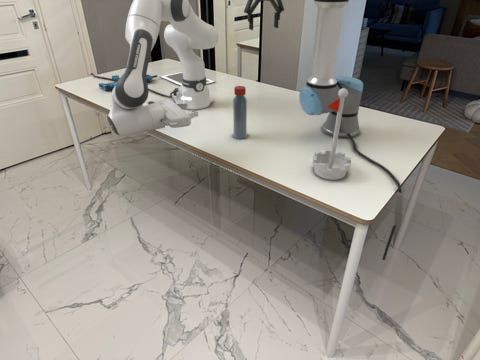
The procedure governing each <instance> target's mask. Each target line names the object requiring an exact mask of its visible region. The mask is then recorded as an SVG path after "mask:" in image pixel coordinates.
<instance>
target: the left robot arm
mask: <svg viewBox="0 0 480 360" xmlns="http://www.w3.org/2000/svg"><path fill="white" fill-rule="evenodd" d="M130 4H131V5H130V7H129V10H128V13H127V18H126V22H125V32H124V33H125V34H124V35H125V36H124V37H125V40H126V42H127V43H128V44H129V53H128V57H127V58H128V59H127V63H126V68H125V71H124V72H123V74H122V75H121V76H119V78H120V79H119V80H118V82H117V84H116V86H115V87H114V89H111V102H110V109H109V113H108V115H107V121H108V124H109V127H110V129H111V130H112V131H113V133H114V134H115V135H117V136H120V137H126V136H133V135H138V134H141V133H143V132H147V131H149V132H151V131H155V130H160V129H164V128H165V127H169V128H172V129H178V128H184V127H190V126H191V125H192V120H193V119H194V118H195V117H199V111H197V110H202V109H205V108H208V107H209V106H210V105H211V104H212V103H213V99H212V98H211V94H210V88H209V86H208V84H206V78H207V76H206V68H205V66H206V65H205V61H204V60H203V58H202V57H201V56H198V55H197V54H196V53H195V52H194V50H209V49H214V48H215V47H216V45H217V43H218V41H219V34H218V31H217V29H216V27H215V26H214V25H212V24H209V23H207V22H205V21H204V20H203V19H201V18H200V17H199V16H198V15H197V14H196V13H195V11H194V10H193V8H192V5H191V3H190V0H130ZM162 22H169V24H167V25H166V27H165V29H164V31H163V37H164V42H165V43H166V44H167V46H168V47H170V48H171V49H172V50H173V51H174V52H175V53H176V55H177V57H178V60H179V62H180V66H181V72H182V73H183V77H182V85H181V86H179V87H175V88H174V89H173V90H172V91H171V92H170V93H169V95H167V94H163V93H161V92H158V91H156V90H154V89H151V88H149V87H148V86H149V85H148V82H147V79H146V75H147V74H148V68H149V63H150V58H151V57H150V56H151V53H152V50H153V48H154V47H155V45H156V42H157V39H158V36H159V33H160V29H161V23H162ZM90 76H92V77H94V78H99V79H103V80H108V81H112V82H114V79H112V78H111V77H110V78H109V77H104V76H100V75H95V74H94V73H93V72H91V73H90ZM149 91H150V92H152V93H154V94H157V95H158V96H162V97H165V98H173V100H174V101H172V100H171V99H160V100H159V99H158V100H155V101H153V100H148V98H149ZM147 100H148V101H147ZM145 103H146V105H144V104H145ZM185 109H186V110H192V111H191V112H187V111H185Z"/></svg>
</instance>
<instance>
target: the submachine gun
mask: <svg viewBox="0 0 480 360" xmlns="http://www.w3.org/2000/svg"><path fill="white" fill-rule="evenodd" d="M155 78H158V74H155V75H150V74H148V73H147V74H146V79H147V83H149V82H151V81H152V80H153V79H155ZM111 79H114V81H112V82H108V83H104V82H99V83H98V87H99V88H100V89H102V90H104V91H111V90H113V89H114V87H115V86H116V84H117V82H118V80H119V79H120V76H119V75H118V74H117V75H112V76H111Z"/></svg>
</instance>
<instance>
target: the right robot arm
mask: <svg viewBox="0 0 480 360" xmlns="http://www.w3.org/2000/svg"><path fill="white" fill-rule="evenodd" d="M265 1H267V2H268V1H269V2H270V4H271V6H272V7H273V9H274V10H275V11H276V12H274V15H273V16H274V18H273V28H275V29H278V28H279V21H280V20H281V14H282V12H284V11H285V8H284V3H283V1H282V0H247V2H246V4H245V6H244V8H243V9H244V10H243V13H245V14H247V22H248V29H249V30H250V31H254V14H253V13H254V12H255V10H256V9H257V7H258V6H259V4H260V3H261V2H265ZM313 2H314V3H315V5H316V7H317V13H316V23H315V24H316V25H315V32H314V42H313V43H314V45H313V52H312V53H313V54H312V64H311V73H310V74H311V75H310V76H309V77H307V78H306V84H305V86H303V87H302V88H301V89H300V90H299V94H298V99H299V104H300V106H301V108H302V110H303V112H304V113H305V114H307V115H308V116H321V115H324V114H328V115H327V117H326V120H325V121H324V123H323V126H322V130H323V132H324V133H325V134H326V135H329V136H332V137H333V136H334V130H335V124H336V118H337V112H338V111H336V110H333V109H331V108H329V107H327V106H329V105H330V104H332V103H333V102H335V101H336V100H338V99H339V98H340V97H339V95H338V92H339V90H340V89H342V88H344V89H346V90H347V91H348V95H347V96H346V97H345V99H344V105H343V111H342V117H341V123H340V128H339V134H338V138H339V139H341V138H342V139H349V140H350V141H351V143H352V147H353V150H354V151H355V152H356V153H357V155H359V156H361V157H362V158H364V159H366V160H367V161H369V162H370V163H372V164H374V166H375V165H376V166H378V167H379V168H380V169H382V170H383V171H384V172H386V173H387V174H388V175H389V176H390V177H391V179H392V180H393V181H394V182H395V184H396V186H397V191H398V193H399V194H402V186H401V183H400V181H399V179H397V178H396V176H395V175H394V174H393V173H392V172H391V170H389V169H388V168H387V167H385V166H384V165H382V164H381V163H380V162H377V161H375V160H373V159H372V158H370V157H368V156H367V155H366V154H363V152H361V151H360V150H358V148H357V147H356V146H357V144H356V142H355V140H354V137H356V136H357V135H359V132H360V125H359V118H358V117H359V116H358V114H359V111H360V110H359V109H360V105H361V101H362V96H363V92H364V91H363V89H364V82H363V81H362V80H361V79H359V78H356V77H353V76H346V75H336V76H335V70H336V63H337V57H338V56H337V55H338V48H339V41H340V34H341V28H342V19H343V12H344V7H345V6H346V5H347V4H348V3H349V2H350V0H313ZM396 228H397V224H394V225H393V226H392V228H391V232H390V234H389V237H388V240H387V243H386V246H385V249H384V252H383V255H382V260H383V261H385V260H386V258H387V254H388V251H389V249H390V246H391V242H392V239H393V237H394V234H395V231H396Z"/></svg>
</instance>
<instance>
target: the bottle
mask: <svg viewBox="0 0 480 360" xmlns="http://www.w3.org/2000/svg"><path fill="white" fill-rule="evenodd" d="M232 121H233V122H232V123H233V125H232V126H233V127H232V128H233V130H232V131H233V138H234V139H238V140H243V139H245V138H247V137H248V136H247V135H248V133H247V132H248V130H247V129H248V128H247V127H248V126H247V125H248V123H247V122H248V99H247V97H246V95H243V96H237V95H235V96H234V98H233V100H232Z"/></svg>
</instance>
